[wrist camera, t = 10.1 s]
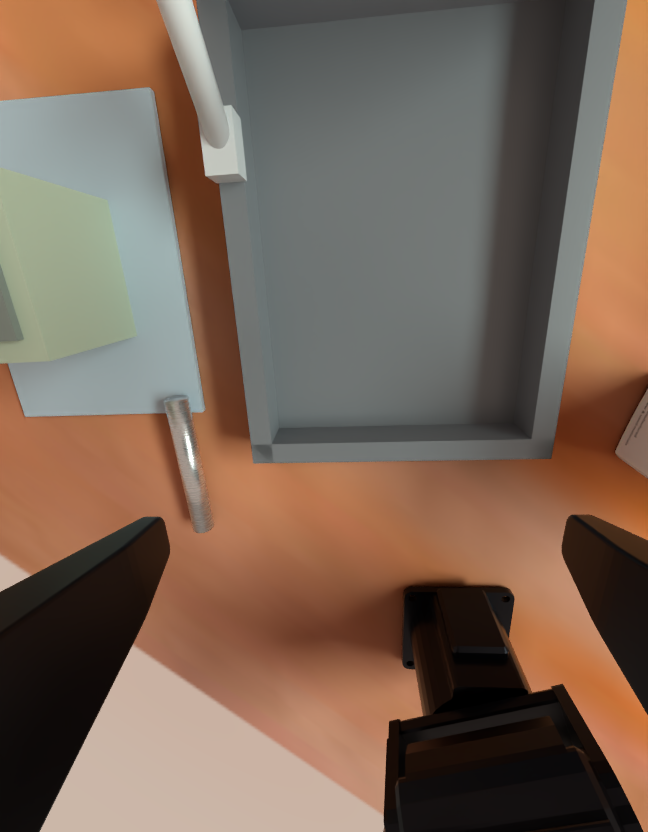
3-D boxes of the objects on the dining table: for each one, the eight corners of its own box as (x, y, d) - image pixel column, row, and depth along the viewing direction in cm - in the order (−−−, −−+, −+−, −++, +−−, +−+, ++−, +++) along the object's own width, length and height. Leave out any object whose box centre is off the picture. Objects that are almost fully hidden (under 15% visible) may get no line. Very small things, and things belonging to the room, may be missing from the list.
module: (137, 335, 19) (43, 362, 13) (54, 340, 20) (-73, 368, 14) (107, 199, 17) (-19, 161, 11) (15, 207, 18) (-153, 174, 12)
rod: (216, 519, 23) (210, 532, 22) (197, 519, 23) (189, 533, 22) (191, 394, 20) (183, 402, 19) (169, 395, 20) (159, 403, 19)
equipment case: (528, 437, 20) (680, 577, 11) (262, 442, 21) (193, 574, 12) (592, -20, 14) (1067, -597, 5) (214, 19, 15) (-3, -390, 6)
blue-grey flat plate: (205, 409, 21) (202, 412, 21) (30, 414, 22) (25, 416, 21) (153, 91, 16) (149, 86, 16) (-68, 111, 17) (-78, 108, 17)
